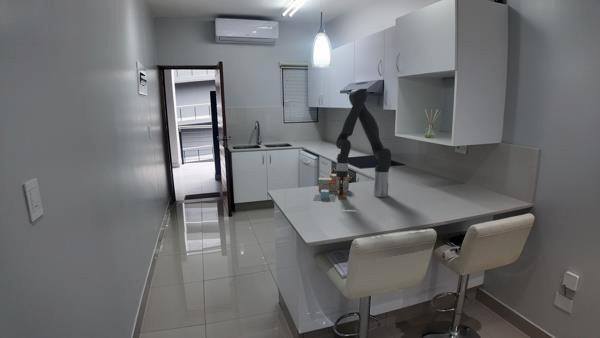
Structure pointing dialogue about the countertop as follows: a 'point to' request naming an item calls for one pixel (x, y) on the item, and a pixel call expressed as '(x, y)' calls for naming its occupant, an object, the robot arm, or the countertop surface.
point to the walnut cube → (342, 195)
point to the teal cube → (324, 194)
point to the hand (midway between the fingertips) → (341, 193)
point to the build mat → (331, 199)
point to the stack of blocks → (333, 183)
